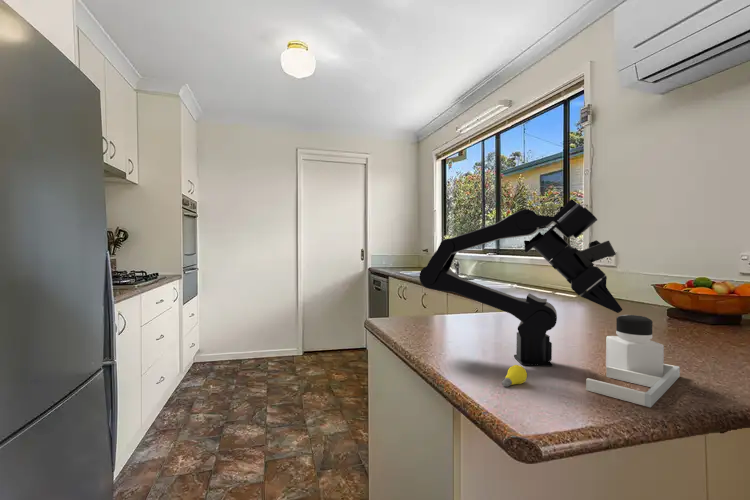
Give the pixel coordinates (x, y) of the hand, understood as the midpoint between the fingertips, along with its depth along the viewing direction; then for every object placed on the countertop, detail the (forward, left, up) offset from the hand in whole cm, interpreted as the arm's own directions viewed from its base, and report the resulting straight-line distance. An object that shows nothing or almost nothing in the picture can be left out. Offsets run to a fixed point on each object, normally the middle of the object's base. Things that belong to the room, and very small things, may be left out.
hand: (617, 308), depth 77 cm
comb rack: (0, -6, -13) cm, 15 cm away
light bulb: (-23, -8, -14) cm, 28 cm away
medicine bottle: (+3, -1, -14) cm, 14 cm away
